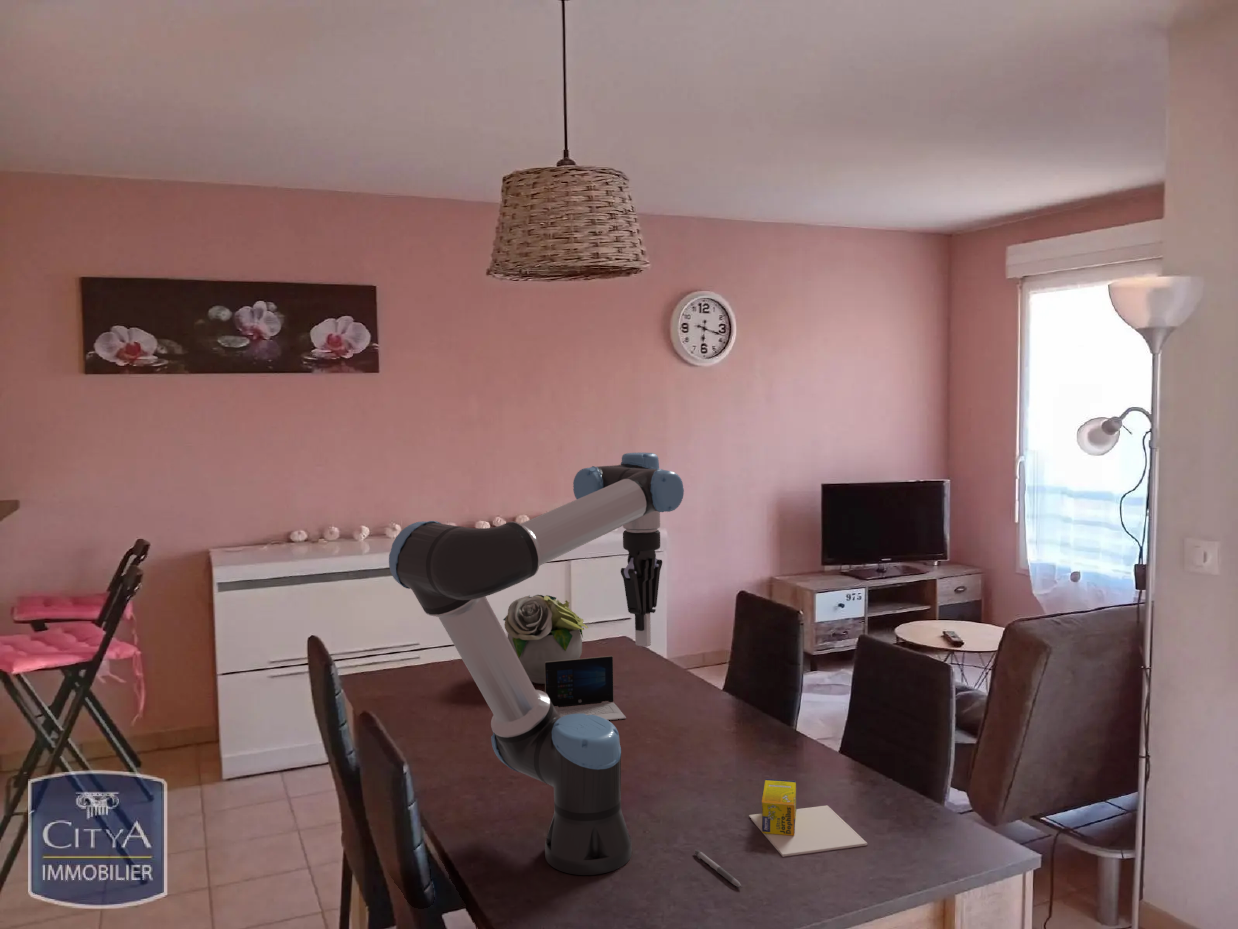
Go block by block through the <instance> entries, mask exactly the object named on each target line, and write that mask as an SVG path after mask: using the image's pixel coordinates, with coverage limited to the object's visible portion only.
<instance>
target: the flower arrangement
mask: <svg viewBox="0 0 1238 929" xmlns="http://www.w3.org/2000/svg"><path fill="white" fill-rule="evenodd" d="M569 604H570V602H569V601H568V600H565V601H564V603H562V601H561V600H559V599H557V596H556V597H555V596H551V595H548V594H546V595H543V594H535V595H533V596H531V595H530V594H529V595H527V596H522V597H519V598H517V599H515V600H514V601H512V602H511V603H510V604H509V606H508V609H507V614H506V615H505V617H504V618H503V619H502V620H503V621H504V629H505V631H506V634H507V638H508V640H509V642H510V643H511V645H512V647H513V649H514V651H515V653H516V655H517V657H518V658H519V660H520V662H521V664H522V666H523V668H524V670H525V672H526V673H527V675H528V677H529V679H530V681H531V683H534V684H542V685H543V684H544V685H545V662H548V661H559V660H570V659H581V656H582V653H583V639H584V636H583V631H584V630H585V629H589V627H588V625H586V624H585V623H584V619H583V618H581V617H580V616H578V615H577V613H576V612H575V611H572V609H571V608H569V607H570V605H569ZM584 627H585V628H584Z"/></svg>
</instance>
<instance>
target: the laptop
mask: <svg viewBox="0 0 1238 929" xmlns="http://www.w3.org/2000/svg"><path fill="white" fill-rule="evenodd" d="M544 692H545V693H546V694H547V695H548V697H549V698H550V700H551V702H552V704H553V706H554V708H555V710H556V711H557V713H558V714H559V715H560V716H561V717H563V716H566V715H570V714H585V715H596V716H599V717H602V718H604V719H606V720H608V721H609V720H610V721H617V720H618V719H619V720H624V719H627V717H626V715H625V714H624V713H623V712H622V710H621V709H620V708H619V707H618V705H616V704H615V701H614V698H615V697H614V694H615V693H614V656H613V655H607V656H595V657H594V656H593V657H584V658H580V659H570V660H559V661H548V662H545V684H544Z"/></svg>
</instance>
